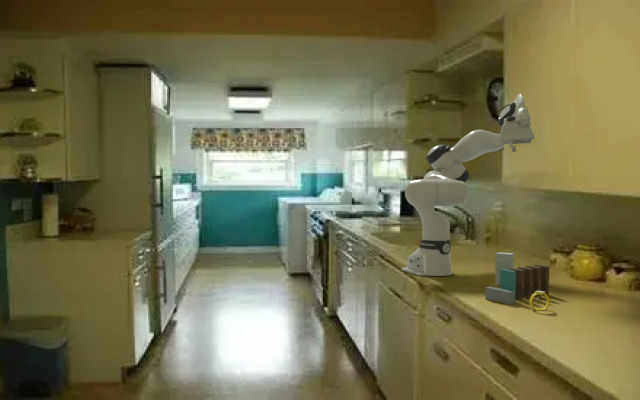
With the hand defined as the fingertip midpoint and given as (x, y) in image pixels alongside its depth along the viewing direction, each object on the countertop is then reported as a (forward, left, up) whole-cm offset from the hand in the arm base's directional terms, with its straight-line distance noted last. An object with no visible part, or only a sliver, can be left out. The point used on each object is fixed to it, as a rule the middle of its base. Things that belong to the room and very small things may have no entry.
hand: (526, 150), depth 240 cm
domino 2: (+18, -28, -51) cm, 61 cm away
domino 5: (+18, -14, -51) cm, 56 cm away
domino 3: (+18, -23, -51) cm, 59 cm away
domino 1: (+18, -32, -51) cm, 63 cm away
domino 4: (+18, -19, -51) cm, 57 cm away
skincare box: (0, -12, -51) cm, 52 cm away
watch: (+33, -36, -51) cm, 70 cm away
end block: (+18, -36, -51) cm, 65 cm away
